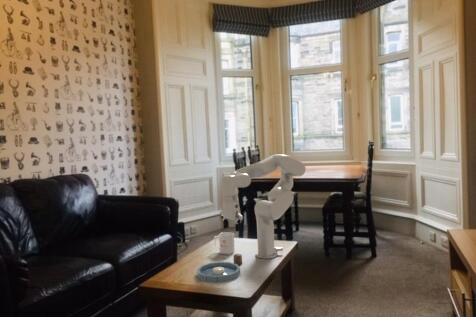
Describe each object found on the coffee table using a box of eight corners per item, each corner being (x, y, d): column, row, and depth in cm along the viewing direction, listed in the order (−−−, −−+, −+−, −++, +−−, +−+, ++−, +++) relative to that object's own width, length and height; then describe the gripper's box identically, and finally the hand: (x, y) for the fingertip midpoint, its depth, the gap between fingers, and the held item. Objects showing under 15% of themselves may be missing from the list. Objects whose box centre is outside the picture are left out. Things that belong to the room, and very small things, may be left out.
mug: (236, 250, 243) (235, 232, 242) (232, 255, 235) (231, 236, 234) (217, 249, 246) (216, 231, 246) (212, 254, 238) (211, 235, 237)
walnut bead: (240, 262, 222) (240, 253, 221) (243, 265, 217) (242, 255, 217) (232, 263, 220) (232, 254, 220) (235, 266, 216) (234, 256, 216)
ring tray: (233, 264, 218) (233, 259, 218) (244, 278, 197) (244, 273, 197) (194, 270, 212) (194, 264, 212) (201, 284, 192) (201, 279, 192)
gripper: (246, 198, 212) (248, 230, 214) (224, 195, 225) (226, 225, 227) (235, 201, 207) (237, 233, 209) (214, 197, 220) (216, 228, 222)
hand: (232, 229), depth 218 cm, fingers open, 9 cm apart
